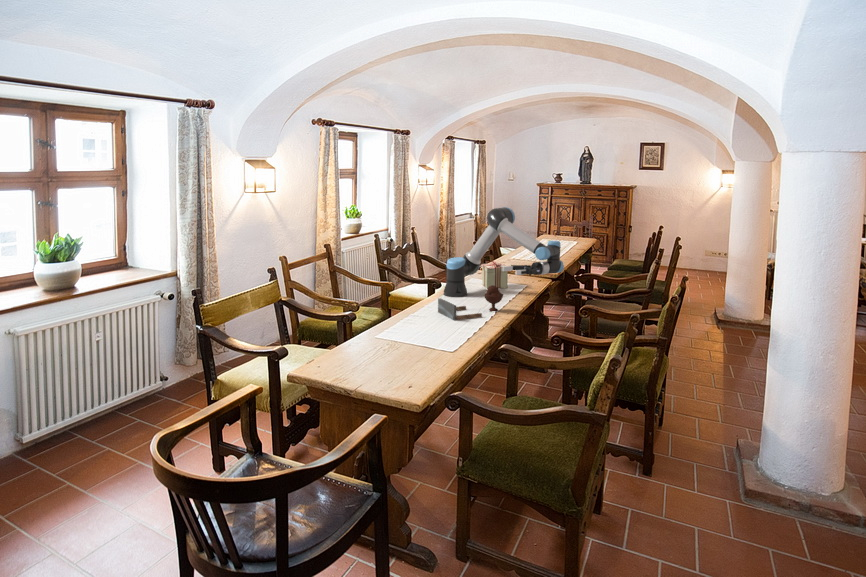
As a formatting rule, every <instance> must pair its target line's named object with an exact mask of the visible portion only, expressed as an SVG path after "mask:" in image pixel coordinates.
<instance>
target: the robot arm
mask: <svg viewBox="0 0 866 577" xmlns="http://www.w3.org/2000/svg"><path fill="white" fill-rule="evenodd" d="M515 220H516V214H515V212H514V211H513V209H511V208H510V207H507V206H502V207H497V208H492V209H490V210H489V212H487V215H486V222H487V224H488V225H487V227H486V228H485V229H484V231H483V233H482V234H481V235H480V236H479V238H478V240H477V241H476V243H474V245H473V247H472V248H471V250H469V251H467V252H465V254H464V255H463V257H460V256H458V257H457V256H455V257H451V258H448V259H447V261H446V284H445V286H444V290H443V295H444V296H445V297H451V298H457V297H458V298H460V297H461V298H462V297H466V296H468V291H467V286H466V284H465V281H466V280H465V279H466V277H467V276H468V277H469V276H472V275H475V274H476V273H477V272H478V271H480V270H479V269H480V268H481V267H480V266H481V263H482V260H481V259H482V258H483V256H484V255H485V254H486V252H487V251H488V250H489V248H490V247H491V246H492V244H493V243H494V242H495V240H496V239H497V238H498V237H499V235H500V234H501V233H502V234H505V235H506V236H507V237H508V238H510V239H511V240H513V241H514V242H516V243H518V244H519V245H521V246H522V247H523V248H524V249H526V250H528V251H529V252H531V253H533V254H534V255H535V258H536V259H538V260H539V261H534V262H533V263H531V265H529V264H524V265H522V264H521V265H520V264H510V265H506V266H505V267H503V271H508V272H513V271H515V276H522V275H523V276H524V275H529V276H531V275H533V276H539V275H543V276H544V275H547V274H558V273H559V274H560V273H561V272H563V271H564V268H565V265H564V261H562V260H561V248H562V247H561V242H560V240H548V242H547V244H546V245H545V244H544V243H543V242H541V241H539V240H537V239H536V238H535V237H534V236H531V235H530V234H529V233H528V232H525V231H524V230H523V229H521V228H520V227H518V226H517V225H515V224H514V223H515Z"/></svg>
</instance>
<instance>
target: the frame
mask: <svg viewBox="0 0 866 577" xmlns="http://www.w3.org/2000/svg"><path fill="white" fill-rule="evenodd" d="M437 302H438V303H437V313H439V314H441V315H443V316H445V317H447V318H449V319H451V320H453V321H459V320H467V319H476V318H482V316H483V313H482V312H478V313H470V314H461V315H460V314H459V315H457V311H465V310H466V311H467V306H466V305H461V306H457V305H456V304H454V303H452V302H449V301H447V300H446V299H443V298H442V297H441V298H439V297H438V298H437Z"/></svg>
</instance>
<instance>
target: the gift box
mask: <svg viewBox="0 0 866 577" xmlns="http://www.w3.org/2000/svg"><path fill="white" fill-rule="evenodd" d="M479 266H480V267H479V268H481V269H482V274H481V275H482V286H483V287H484V288H485V289H486V288H487V290H488V287H489V286H491V285H494V286H496V287H497V288H498V290H499V288H500V289H508V278H509V276H508V274H509V273H508V272H509V271H503V267H505V266H507V265H506V264H504V263H503V262H501V263H499V262H496V261H494V260H491V263H482V264H480V265H479Z"/></svg>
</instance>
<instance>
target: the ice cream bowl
mask: <svg viewBox="0 0 866 577" xmlns="http://www.w3.org/2000/svg"><path fill="white" fill-rule="evenodd" d="M483 295H484V299H485V300H486V301H487V302H488V303H489V304H491V307H490V308H489V309H488V311H489V310H490V311H489V312H492V311H496V312H498V311H499V309H498V308H496V304H499V303H500V302H501V301H502V300H503V297H504V294H503V293H501V291H500V290H499V289H498V288H497V287H496V286H494V285H491V286H489V287H488V289H487V290H486V291H485V293H484V294H483Z"/></svg>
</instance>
